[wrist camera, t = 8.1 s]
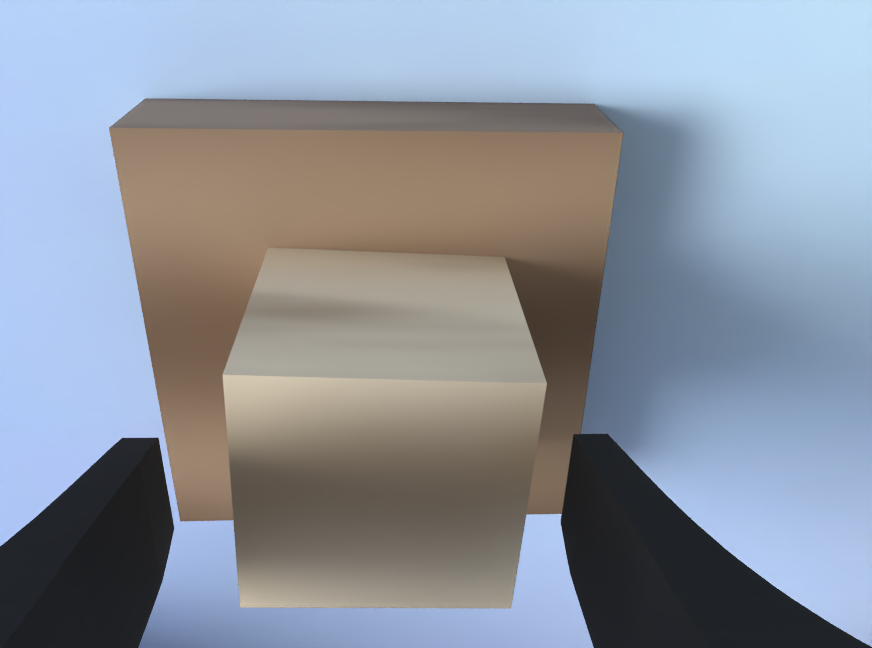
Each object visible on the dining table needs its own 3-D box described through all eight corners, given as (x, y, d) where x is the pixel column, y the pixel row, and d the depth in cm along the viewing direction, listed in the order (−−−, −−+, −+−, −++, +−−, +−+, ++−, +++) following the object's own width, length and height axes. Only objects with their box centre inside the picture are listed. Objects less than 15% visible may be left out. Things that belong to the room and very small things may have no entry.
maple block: (482, 444, 19) (511, 608, 14) (275, 440, 18) (240, 606, 14) (504, 256, 16) (546, 383, 12) (268, 247, 16) (222, 374, 12)
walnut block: (548, 442, 23) (568, 513, 20) (205, 447, 22) (180, 521, 19) (588, 98, 18) (623, 133, 15) (151, 93, 17) (109, 128, 15)
